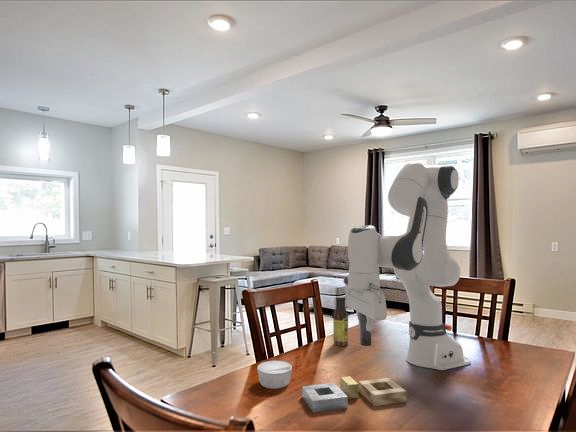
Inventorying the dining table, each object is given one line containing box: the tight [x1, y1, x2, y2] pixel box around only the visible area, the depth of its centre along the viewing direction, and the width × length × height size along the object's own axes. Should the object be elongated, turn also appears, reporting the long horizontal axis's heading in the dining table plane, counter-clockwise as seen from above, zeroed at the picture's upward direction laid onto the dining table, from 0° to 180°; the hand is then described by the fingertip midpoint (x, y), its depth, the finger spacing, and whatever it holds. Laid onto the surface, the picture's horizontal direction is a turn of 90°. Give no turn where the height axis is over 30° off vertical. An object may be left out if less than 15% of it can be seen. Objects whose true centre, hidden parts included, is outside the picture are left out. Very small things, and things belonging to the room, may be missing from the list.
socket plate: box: [301, 382, 349, 413], centre depth 111 cm, size 10×10×3 cm
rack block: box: [358, 377, 407, 407], centre depth 114 cm, size 10×10×3 cm
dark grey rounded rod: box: [359, 312, 373, 347], centre depth 114 cm, size 3×3×10 cm
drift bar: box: [340, 375, 359, 400], centre depth 116 cm, size 3×6×4 cm, turn 15°
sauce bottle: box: [332, 295, 349, 347], centre depth 165 cm, size 7×6×20 cm
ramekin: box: [256, 360, 293, 390], centre depth 124 cm, size 11×11×5 cm
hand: (365, 328), depth 114 cm, fingers closed on dark grey rounded rod, 3 cm apart
